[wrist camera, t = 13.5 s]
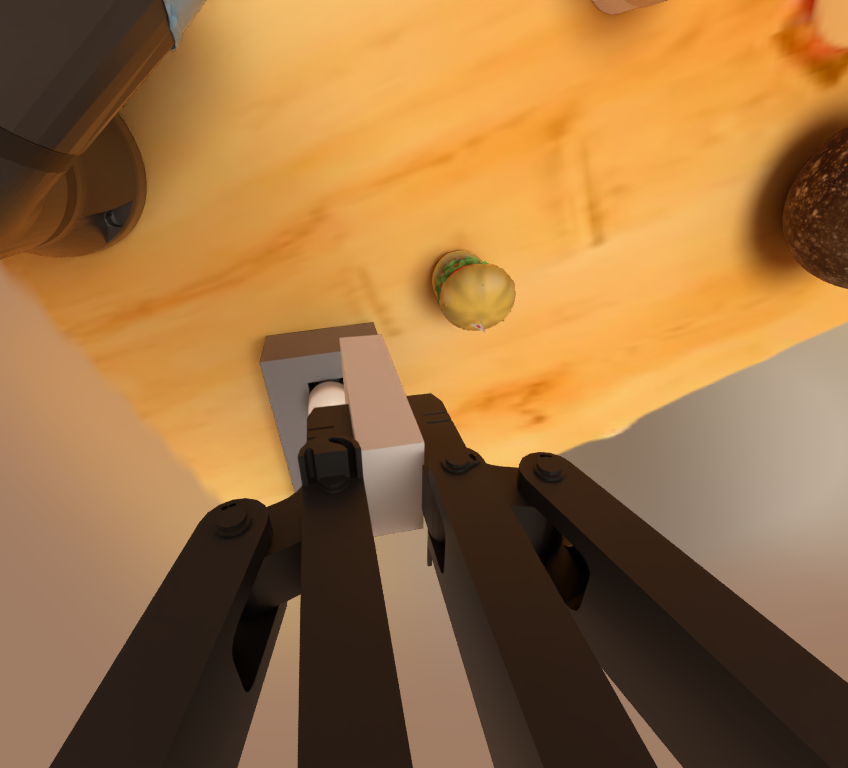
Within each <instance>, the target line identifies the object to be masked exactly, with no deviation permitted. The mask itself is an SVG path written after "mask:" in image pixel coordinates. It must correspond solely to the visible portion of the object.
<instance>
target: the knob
mask: <svg viewBox="0 0 848 768" xmlns="http://www.w3.org/2000/svg"><path fill="white" fill-rule="evenodd" d="M342 404H345V393H344V385H343V384H341V383H340V378H338V379H331V380H324V381H318V385H317V386H316V387H315V388H314V389H313V390H312V391H311V393H310V395H309V407H308V414H310V413H311V411H312V410H313V409H314V408H315V407H324V406H333V405H342Z"/></svg>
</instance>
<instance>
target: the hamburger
mask: <svg viewBox="0 0 848 768" xmlns="http://www.w3.org/2000/svg"><path fill="white" fill-rule="evenodd" d="M432 286H433V291H434V293H435V296H436V298H437V299H438V304H439V305H440V306H441V310H442V312H443V314H444V316H445V317H446V318H447V319H448V321H449V322H451V323H452V324H453V325H455V326H457V327H459V328H462V329H463V330H464V329H465V330H468V331H469V330H472V331H476V330H481V331H483V332H484V333H485V329H487V328H490V327H493V326H495V325H496V324H498V323H499V322H501V321H504V318H505V317H506V316H507V315H508V314H509V312H511V309H512V307H513V304H514V301H515V294H516V293H515V284H514V282H513V280H512V279H511V277H510V276H509V275H508V274H507V273H506V272H505V271H504V269H502V268H499V267H498V266H496V265H492V264H488V263H487V262H485V261H484V262H482V261H481V259H479V258H478V257H477V256H475V255H474V254H472V253H471V252H469V251H463V250H459V251H453V252H451V253H447V254H446V255H445V256H444V257H443V258H441V259H440V260H439V262H438V263H437V265H436V267H435V269H434V272H433V276H432Z"/></svg>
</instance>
